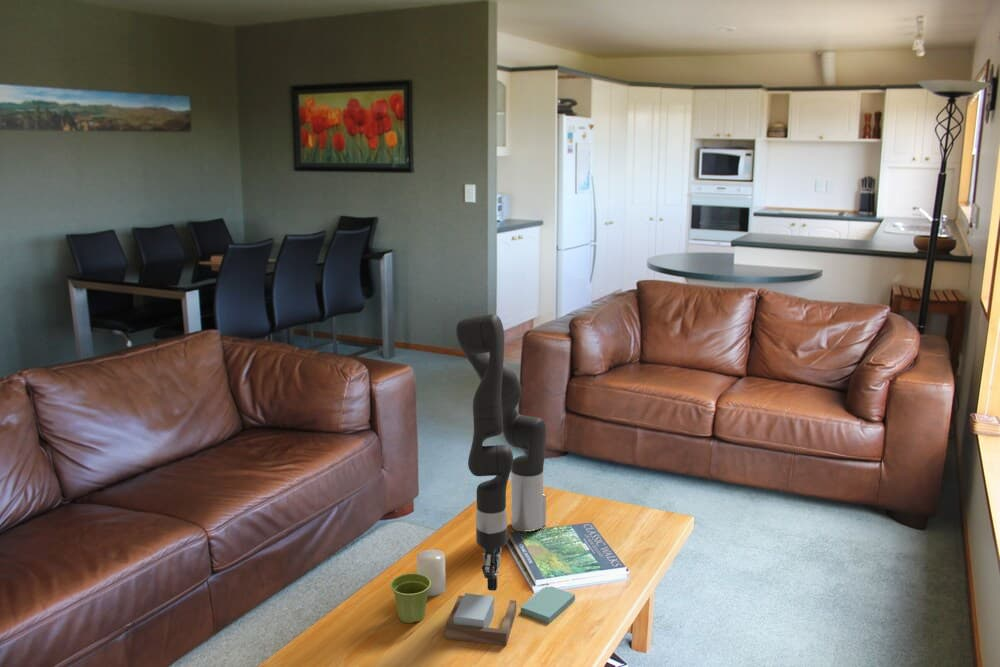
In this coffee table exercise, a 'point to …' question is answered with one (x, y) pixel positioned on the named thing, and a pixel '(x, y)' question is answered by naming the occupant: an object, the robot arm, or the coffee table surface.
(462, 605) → the carton
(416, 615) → the plant pot
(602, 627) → the coffee table surface
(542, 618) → the green flat block
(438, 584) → the white capsule shape
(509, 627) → the display bay
